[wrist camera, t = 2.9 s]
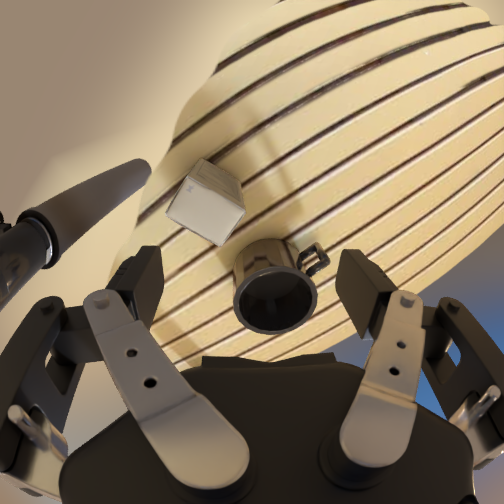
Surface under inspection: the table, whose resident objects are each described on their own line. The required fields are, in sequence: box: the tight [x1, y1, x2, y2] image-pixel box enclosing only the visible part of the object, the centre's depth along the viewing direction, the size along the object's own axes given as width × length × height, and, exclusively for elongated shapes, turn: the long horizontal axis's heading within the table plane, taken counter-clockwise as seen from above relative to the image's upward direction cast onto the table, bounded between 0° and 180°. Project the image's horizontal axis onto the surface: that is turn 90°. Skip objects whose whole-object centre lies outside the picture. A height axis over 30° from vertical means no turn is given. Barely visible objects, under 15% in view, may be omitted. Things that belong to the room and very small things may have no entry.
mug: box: [233, 239, 330, 335], centre depth 37 cm, size 14×10×8 cm
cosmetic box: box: [165, 158, 246, 247], centre depth 29 cm, size 6×4×12 cm
